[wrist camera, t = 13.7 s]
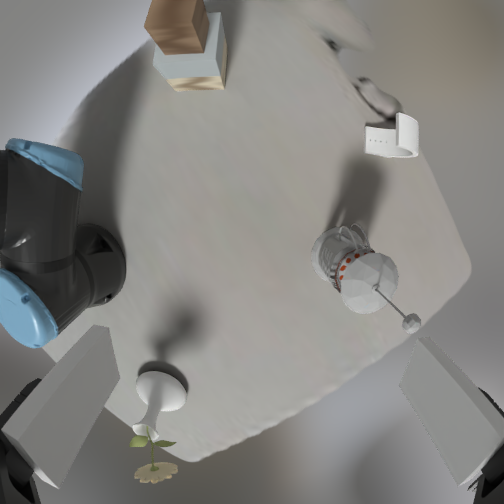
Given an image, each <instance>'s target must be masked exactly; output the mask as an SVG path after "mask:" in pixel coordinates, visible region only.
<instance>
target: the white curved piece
mask: <svg viewBox="0 0 504 504" xmlns="http://www.w3.org/2000/svg"><path fill="white" fill-rule="evenodd" d="M418 132H419V129H418V122H417V121H416V120H415V119H413V118H412V117H410V116H408V115H405V114H403V113H400V112H398V113H396V129H381V128H374V127H368V126H366V127H365V130H364V153H367V154H372V155H377V156H382V157H387V158H391V157H416V156H418V137H419V136H418V134H419V133H418Z"/></svg>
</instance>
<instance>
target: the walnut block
mask: <svg viewBox="0 0 504 504" xmlns="http://www.w3.org/2000/svg"><path fill="white" fill-rule="evenodd" d="M209 24H210V23H209V20H208V16H207V13H206V9H205V6H204V2H203V0H152V2H151V5H150V8H149V12H148V15H147V18H146V21H145V25H144V27H145V29H146V30H147V32H148V33H149V34H150V36H151V37H152V38H153V40H154V41H155V42H156V44H157V45H158V46H159V48H160V49H161V50H162V52H163V53H164V55H177V54H199V53H204V51H205V45H206V39H207V34H208V29H209Z"/></svg>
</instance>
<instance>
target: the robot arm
mask: <svg viewBox="0 0 504 504" xmlns="http://www.w3.org/2000/svg"><path fill="white" fill-rule="evenodd" d="M5 148H6V150H0V322H1V324H2V325H3V326H4V328H5V329H6V330H7V332H8V333H9V334H10V335H11V336H12V337H13V338H14V339H16V340H17V341H18V342H20V343H21V344H23V345H25V346H27V347H31V348H40V347H43V346H44V345H45V344H47V343H48V342H49V341H50V340H53V339H55V338H56V337H57V336H58V335H59V334H60V333H61V332H62V331H63V330H64V329H65V328H66V327H67V326H68V325H69V324H70V323H71V322H72V321H73V320H74V319H75V318H77V317H78V316H79V315H80V314H81V313H82V312H83V311H84V310H85V309H86V308H90V307H95V306H99V305H103V304H106V303H108V302H109V301H111V300H112V299H113V298H114V297H115V296H116V295H117V294H118V293H119V292H120V290H121V289H122V287H123V284H124V281H125V276H126V266H125V260H124V256H123V253H122V250H121V248H120V246H119V244H118V243H117V241H116V240H115V239H114V237H113V236H112V235H111V234H110V233H109V232H108V231H106V230H105V229H103V228H102V227H99V226H97V225H93V224H83V225H80V226H77V221H78V212H79V203H80V196H81V192H82V190H83V189H82V177H83V170H84V163H83V160H82V158H81V157H80V156H79V155H78V154H77V153H75V152H72V151H69V150H66V149H63V148H59V147H56V146H52V145H48V144H43V143H39V142H32V141H27V140H23V139H16V138H12V139H10V140H9V141H8V143H7V144H6V146H5ZM119 379H120V375H119V371H118V367H117V363H116V359H115V355H114V350H113V346H112V341H111V336H110V331H109V327H104V326H98V325H93V326H92V327H91V328H90V329H89V330H88V331H87V332H86V333H85V334H84V335H83V336H82V337H81V338H80V339H79V340H78V342H77V343H76V344H75V345H74V346H73V347H72V348H71V349H70V350H69V351H68V352H67V353H66V354H65V355H64V356H63V357H62V359H61V360H60V361H59V362H58V363H57V364H56V365H55V366H54V367H53V368H52V369H51V371H50V372H49V373H48V374H47V375H46V376H45V377H44V379H43V380H41V379H39V378H37V379H36V380H34V381H32V382H31V383H29V384H27V385H26V387H25V388H24V389H23V390H22V391H21V392H20V395H19V394H18V396H17V397H16V398H15V399H14V401H12V402H11V404H10V405H9V406H8V407H7V408H6V410H5V411H4V412H3V413H2V414H1V415H0V504H41V502H40V499H39V496H38V492H37V488H36V485H35V481H34V479H33V477H32V474H33V472H35V473H36V474H37V475H38V476H39V477H40V478H41V479H42V480H43V481H45V482H47V483H49V484H50V485H52V486H54V487H56V488H58V489H60V487H61V485H62V483H63V480H64V478H65V477H66V475H67V473H68V471H69V468H70V467H71V465H72V463H73V461H74V459H75V457H76V455H77V453H78V451H79V450H80V447H81V446H82V444H83V442H84V440H85V439H86V437H87V435H88V433H89V431H90V430H91V428H92V426H93V424H94V422H95V421H96V419H97V417H98V415H99V414H100V412H101V410H102V408H103V407H104V405H105V403H106V401H107V400H108V398H109V396H110V395H111V393H112V391H113V389H114V388H115V386H116V384H117V383H118V381H119ZM399 387H400V388H401V390H402V391H403V393H404V395H405V396H406V398H407V399H408V401H409V403H410V404H411V406H412V408H413V409H414V411H415V412H416V414H417V416H418V417H419V419H420V421H421V422H422V424H423V426H424V427H425V429H426V431H427V432H428V434H429V435H430V437H431V439H432V441H433V443H434V444H435V446H436V448H437V450H438V451H439V453H440V455H441V457H442V458H443V460H444V462H445V464H446V466H447V467H448V469H449V471H450V473H451V475H452V477H453V479H454V480H455V482H456V484H457V486H460V485H462V484H464V483H466V482H467V481H469V480H471V479H472V478H473V477H474V476H475V475H476V474H477V473H478V472H479V471H480V470H481V471H482V473H483V474H482V475H481V476H480V477H479V478H478V479H477V480H475V481H474V482H473V483H472V485H470V486H469V488H468V490H467V491H470V490H471V489H472V488H473V487H475V485H477V484H478V485H477V487H476V488H474V490H473V491H472V492H476V494H475V499H474V503H473V504H504V412H503V411H502V410H501V408H499V406H498V405H497V404H496V403H495V402H494V400H493V399H492V398H491V397H490V396H489V395H488V394H487V393H486V392H485V391H483V390H481V389H480V388H477V386H476V385H475V384H474V383H473V382H472V381H471V380H470V379H469V378H468V377H467V375H466V374H465V373H464V372H463V371H462V370H461V369H460V368H459V367H458V366H457V365H456V364H455V363H454V362H453V360H452V359H451V358H450V357H449V356H447V354H446V353H445V352H444V351H443V350H442V349H441V348H440V347H439V346H438V345H437V344H436V343H435V342H434V341H433V340H432V339H431V338H430V337H426V338H418V339H417V340H416V343H415V346H414V349H413V352H412V355H411V357H410V360H409V362H408V365H407V368H406V370H405V372H404V375H403V377H402V380H401V382H400V384H399Z"/></svg>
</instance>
